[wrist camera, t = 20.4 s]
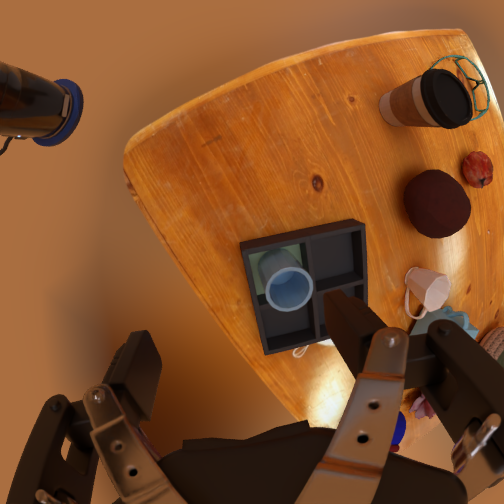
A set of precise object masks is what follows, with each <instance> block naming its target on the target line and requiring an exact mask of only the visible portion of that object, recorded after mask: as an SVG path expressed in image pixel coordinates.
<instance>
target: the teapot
mask: <svg viewBox="0 0 504 504" xmlns="http://www.w3.org/2000/svg"><path fill="white" fill-rule="evenodd" d="M423 308H424V307H423ZM422 311H423V309H422V310H421V312H420V315H421V314H422ZM420 315H419V316H420ZM461 316H463V317H461ZM438 319H448V320H452V321H454V322H455V323H457V324H458V325H459V326H460V327H461V328H462V329H463V330H465V331H466V332H467V333H468V334H469V335H470V336H471V337H472V338H473V339H475V338H476V336H477V334H478V332H479V330H478V329H477V328H476V327H474V326H473V325H472V324H470V323H469V317H468V315H467V314H466V313H465V312H463V311H458V312H455V311H452V308H451V307H450V306H446V307H444V309H438V310H435V311H432V312H429V311H428V310H427V313H426V314H425V316H424V317H423V318H421V319H418V320H417V322H416V324H415V326H414V328H413V330H412V332H411V334H410V335H409V336H411V335H418V334H424V333H427V330H428V326H429V324H430V323H431V322H433V321H435V320H438Z"/></svg>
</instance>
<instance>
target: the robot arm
mask: <svg viewBox="0 0 504 504" xmlns="http://www.w3.org/2000/svg"><path fill="white" fill-rule="evenodd" d="M73 106H74V99H73V95H72V92H71V91H70V90H69V89H68V88H67V87H65V86H63V85H59V84H57V83H54V82H52V81H50V80H47V79H45V78H43V77H40V76H38V75H35V74H33V73H30V72H28V71H25V70H23V69H20V68H17V67H14V66H11V65H9V64H6V63H3V62H1V61H0V135H2V136H9V137H8V138H7V140H6V141H5V143H4V146H3V149H1V150H0V155H2V154H3V153H4V152H5V151H6V149H7V147H8V144H9V142H10V141H11V140H12V138H13V137H15V139H23V140H25V139H27V138H37V137H38V138H42V139H49V138H52V137H55V136H56V135H58V134H59V133H60V132H61V131H62V130H63V129H64V128H65V126H66V125H67V123H68V122H69V120H70V117H71V115H72V111H73ZM323 302H324V315H325V325H326V329H327V332H328V335H329V336H330V338H331V340H332V341H333V343H334V344H335V346H336V348H337V349H338V351H339V353H340V354H341V356H342V358H343V359H344V361H345V363H346V364H347V366H348V368H349V369H350V371H351V373H352V374H353V376H354V378H355V380H356V382H355V384H354V387H353V390H352V392H351V395H350V398H349V400H348V403H347V405H346V408H345V410H344V413H343V415H342V418H341V420H340V422H339V425H338V427H337V429H332V428H325V427H310V426H309V423H308V420H304V421H300V422H296V423H292V424H288V425H284V426H279V427H276V428H273V429H271V430H269V431H266V432H264V433H261V434H259V435H256V436H254V437H251V438H249V439H245V440H235V439H222V438H203V439H192V440H183V447H182V449H179V450H177V451H174V452H172V453H170V454H168V455H166V456H164V457H163V458H162V457H161V456H160V455H159V453H158V452H157V450H156V449H155V448H154V446H153V445H152V444H151V442H150V441H149V439H148V438H147V437H146V435H145V434H144V432H143V431H142V429H141V428H140V427H139V424H140V421H150V419H151V414H152V409H153V405H154V400H155V396H156V392H157V387H158V383H159V379H160V374H161V370H162V361H161V357H160V355H159V353H158V351H157V348H156V347H155V344H154V342H153V340H152V338H151V335H150V333H149V332H148V331H147V330H142V331H135V332H131V333H130V336H129V338H128V340H127V342H126V343H124V344H123V345H122V346H121V347H120V348H119V349H118V350H117V351H116V353H115V356H114V359H113V360H112V362H111V365H110V366H109V368H108V371H107V373H106V375H105V377H104V379H103V381H102V383H101V384H97V385H95V386H93V387H91V388H90V389H88V390H87V391H86V393H85V394H84V396H83V400H80V401H76V402H72V403H70V402H69V400H68V399H67V398H66V397H65V396H64V395H61V394H58V395H55V396H52V397H51V398H49V399H48V400H47V401H46V402H45V404H44V406H43V408H42V410H41V412H40V414H39V417H38V419H37V421H36V423H35V425H34V427H33V429H32V432H31V434H30V436H29V439H28V441H27V443H26V446H25V448H24V451H23V453H22V456H21V459H20V461H19V464H18V467H17V470H16V472H15V475H14V478H13V481H12V485H11V488H10V491H9V494H8V498H7V502H6V504H90V502H91V497H92V491H93V485H94V479H95V475H96V469H97V465H98V460H99V457H100V459H101V461H102V464H103V465H104V468H105V470H106V472H107V474H108V476H109V478H110V479H111V482H112V483H113V485H114V487H115V489H116V491H117V492H118V494H119V496H120V497H119V498H118V499H117V500H116V501H115V502H114V503H112V504H468V501H470V500H471V499H473V498H474V497H476V496H477V495H478V494H480V493H481V492H482V491H484V490H485V489H486V488H490V487H493V486H495V485H497V484H498V483H499V482H500V481H502V480H503V479H504V368H503V367H502V366H501V365H500V364H499V363H498V362H497V361H496V360H495V359H494V358H493V357H492V356H491V355H490V354H489V353H488V352H487V351H486V350H485V349H484V348H483V347H482V346H481V345H480V344H478V343H477V342H476V341H475V340H474V339H473V338H472V337H471V336H470V335H469V334H468V333H467V332H466V331H465V330H463V329H462V328H461V327H460V326H459V325H458V324H457V323H455V322H454V321H452V320H448V319H438V320H435V321H433V322H431V323H430V324H429V326H428V330H427V333H424V334H418V335H411V336H408V334H407V333H406V332H405V331H404V330H402V329H400V328H396V327H388V326H387V325H386V324H385V323H384V322H383V321H382V320H381V319H380V318H379V317H378V316H377V315H376V314H375V313H374V312H373V311H372V310H371V309H370V307H368V305H367V304H366V303H365V302H364V301H363V300H361V299H359V298H356V297H354V296H352V297H347V296H346V295H345V293H344V292H343V291H342V290H341V289H337V290H333V291H329V292H325V293H324V294H323ZM416 387H418V388H419V389H420V391H421V392H422V393H423V395H424V396H425V398H426V399H427V401H428V402H429V404H430V405H431V407H432V408H433V410H434V412H435V413H436V415H437V416H438V418H439V419H440V421H441V422H442V424H443V426H444V427H445V429H446V430H447V432H448V433H449V435H450V437H451V438H452V440H453V442H454V443H455V445H454V447H453V449H452V453H451V459H452V463H453V466H454V472H453V473H452V472H450V471H447V470H444V469H441V468H437V467H434V466H430V465H427V464H424V463H421V462H418V461H415V460H412V459H409V458H407V457H404V456H401V455H398V454H396V453H393V452H391V451H389V449H390V446H391V442H392V438H393V435H394V431H395V427H396V423H397V419H398V414H399V410H400V405H401V400H402V395H403V390H404V389H410V388H416ZM65 437H66V438H67V439H68V440H69V441H70V442H71V445H70V448H69V451H68V455H67V458H66V461H65V460H64V459H63V457H62V455H61V447H62V445H63V442H64V439H65Z"/></svg>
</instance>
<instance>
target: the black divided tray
mask: <svg viewBox="0 0 504 504" xmlns="http://www.w3.org/2000/svg"><path fill="white" fill-rule="evenodd" d="M240 248H241V252H242V257H243V261H244V266H245V270H246V275H247V279H248V284H249V288H250V293H251V297H252V302H253V306H254V311H255V315H256V320H257V324H258V328H259V333H260V337H261V342H262V346H263V350H264V354H265V355H269V354H274V353H278V352H282V351H287V350H291V349H294V348H298V347H302V346H306V345H309V344H313V343H316V342H320V341H323V340H327V339H330V336H329V335H328V332H327V329H326V325H325V315H324V302H323V294H324V293H325V292H329V291H333V290H337V289H341V290H342V291H343V292H344V293H345V295H346V296H347V297H352V296H354V297H356V298H359V299H361V300H363V301H364V302H365V303H366V304H367V305H368V274H367V248H366V231H365V224H364V223H362V222H359V221H357V220H355V219H348V220H343V221H338V222H334V223H329V224H324V225H319V226H314V227H310V228H305V229H300V230H295V231H291V232H286V233H281V234H277V235H272V236H267V237H263V238H258V239H253V240H249V241H244V242H240ZM278 248H282V249H286V250H288V251H290V252H291V253H292V254H293V255H294V256H295V257H296V259H297V260H298V261H299V262H300V264H301V265H302V266H303V267H304V269H305V270H306V271H307V272H308V274H309V275H310V277H311V279H312V281H313V291H312V295H311V297H310V299H309V300H308V301H307V303H306V304H305V305H304V306H302V307H300V308H299V309H297V310H293V311H289V312H286V311H279V310H277V309H275V308H273V307H272V306H271V305H270V304H269V302H268V301H267V299H266V296H265V293H264V290H263V287H262V284H261V281H260V278H259V274H258V270H257V269H258V262H259V260H260V258H261V257H262V256H263V255H264V254H265V253H266V252H267V251H269V250H273V249H278Z"/></svg>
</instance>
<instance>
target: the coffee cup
mask: <svg viewBox="0 0 504 504" xmlns="http://www.w3.org/2000/svg"><path fill="white" fill-rule="evenodd" d="M379 109H380V113H381V115H382V117H383V118H384V120H385V121H386V122H387V123H389V124H390V125H392V126H416V127H443V128H446V129H452V128H453V129H454V128H457V127H459V126H462V125H466V124H467V123H468V122H469V121H470V120H471V118H472V115H473V109H472V102H471V98H470V95H469V93H468V91H467V90H466V88H465V86H464V85H463V84H462V82H461V81H460V80H459V79H458V78H457V77H456V76H455V75H454V74H452V73H451V72H449V71H447V70H444V69H430V70H427V71H425V72H424V73H423V75H420V76H418V77H416V78H414V79H412V80H410V81H408V82H406V83H405V84H403V85H401V86H399V87H397V88H396V89H394V90H392V91H390V92H388V93H386V94H384V95H383V96H382V97H381V99H380V102H379Z"/></svg>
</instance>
